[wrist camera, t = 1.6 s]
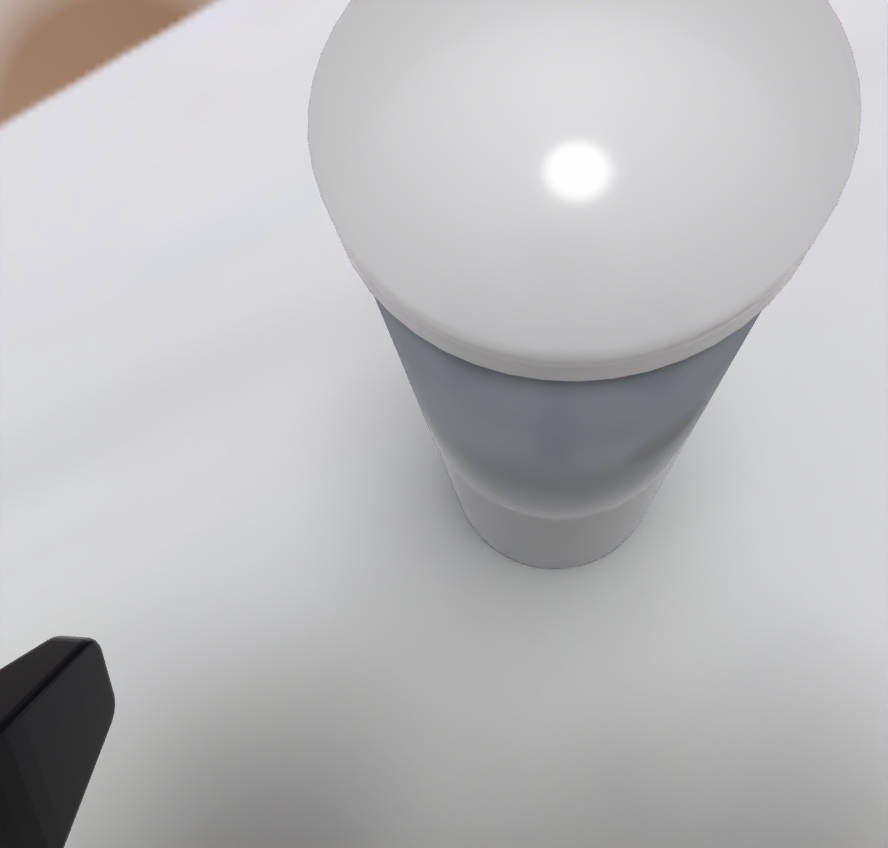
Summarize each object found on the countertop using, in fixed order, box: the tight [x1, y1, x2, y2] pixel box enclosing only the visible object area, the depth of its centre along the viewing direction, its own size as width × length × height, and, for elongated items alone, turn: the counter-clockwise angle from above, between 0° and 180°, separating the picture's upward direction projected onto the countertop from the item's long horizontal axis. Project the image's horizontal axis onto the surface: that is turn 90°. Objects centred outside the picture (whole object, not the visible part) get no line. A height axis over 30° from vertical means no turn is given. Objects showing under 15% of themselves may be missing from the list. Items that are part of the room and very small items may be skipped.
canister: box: [308, 0, 861, 569], centre depth 14 cm, size 5×5×14 cm
